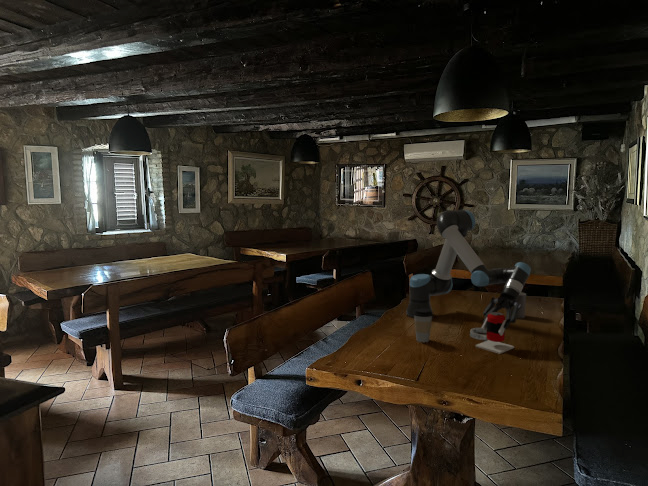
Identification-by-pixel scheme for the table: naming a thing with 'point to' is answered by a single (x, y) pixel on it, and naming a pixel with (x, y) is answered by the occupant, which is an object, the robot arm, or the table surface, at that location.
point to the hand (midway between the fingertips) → (491, 331)
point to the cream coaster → (495, 346)
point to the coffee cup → (422, 324)
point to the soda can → (495, 326)
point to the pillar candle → (522, 302)
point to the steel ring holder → (478, 336)
